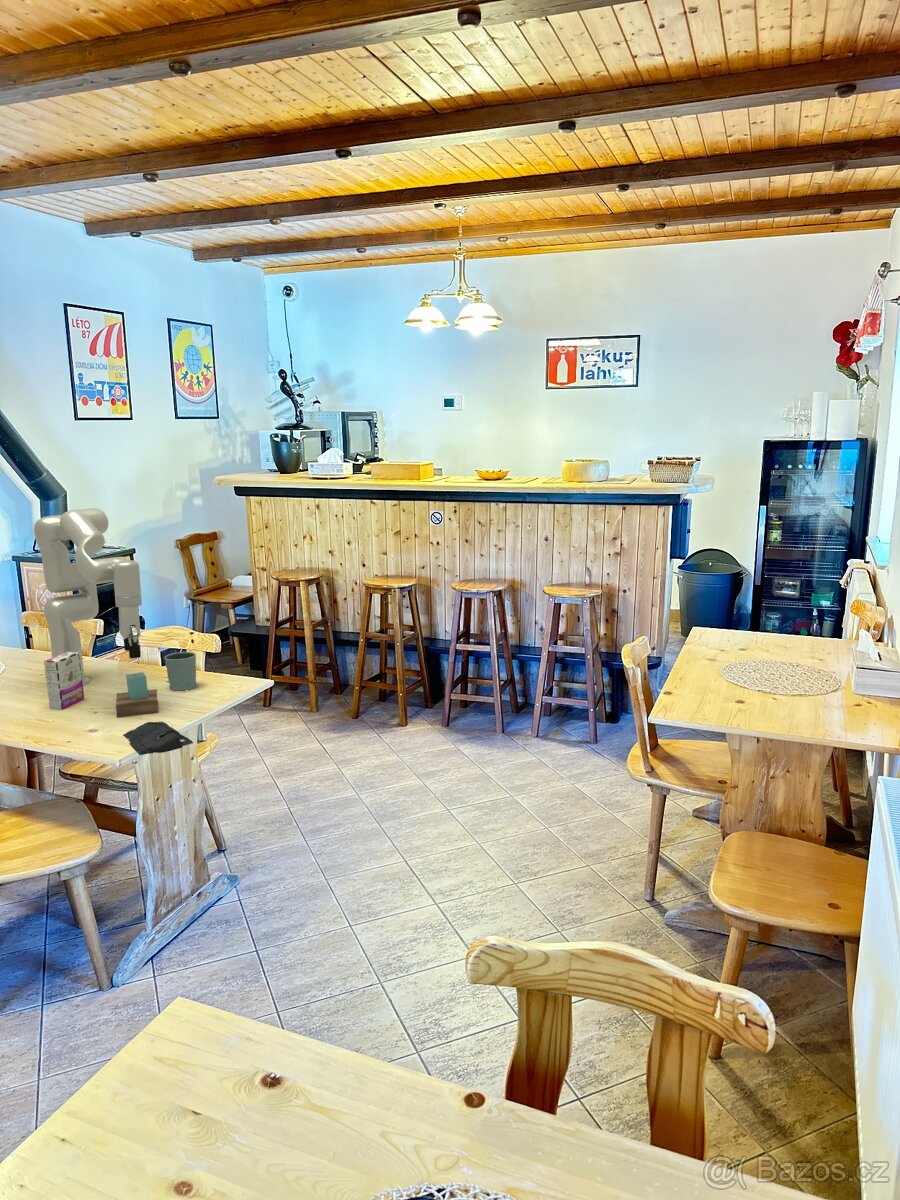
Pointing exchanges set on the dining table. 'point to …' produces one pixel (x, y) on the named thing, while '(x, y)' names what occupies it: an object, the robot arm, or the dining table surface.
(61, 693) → the candy bar box
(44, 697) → the dining table surface
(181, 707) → the dining table surface
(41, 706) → the dining table surface
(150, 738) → the dark slate chunk
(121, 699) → the walnut block
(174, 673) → the grey green cup
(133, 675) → the teal block
